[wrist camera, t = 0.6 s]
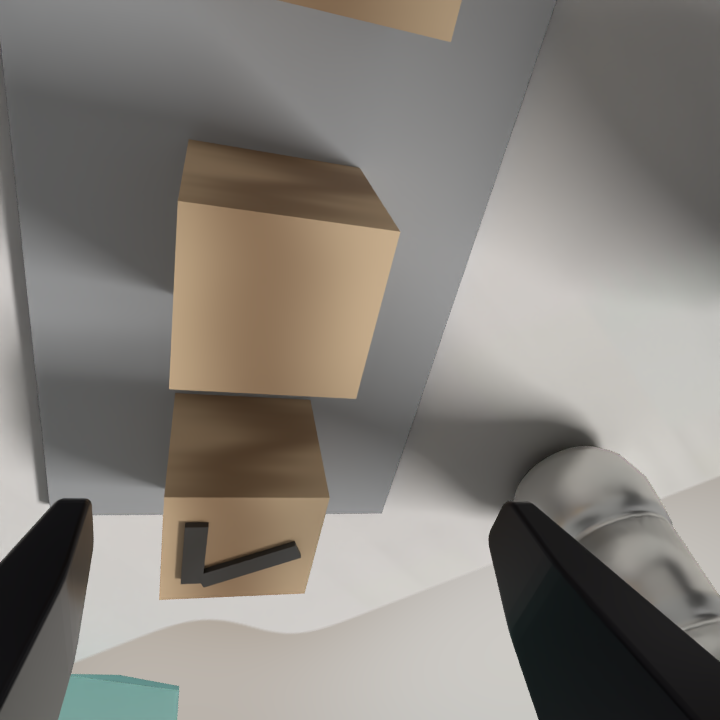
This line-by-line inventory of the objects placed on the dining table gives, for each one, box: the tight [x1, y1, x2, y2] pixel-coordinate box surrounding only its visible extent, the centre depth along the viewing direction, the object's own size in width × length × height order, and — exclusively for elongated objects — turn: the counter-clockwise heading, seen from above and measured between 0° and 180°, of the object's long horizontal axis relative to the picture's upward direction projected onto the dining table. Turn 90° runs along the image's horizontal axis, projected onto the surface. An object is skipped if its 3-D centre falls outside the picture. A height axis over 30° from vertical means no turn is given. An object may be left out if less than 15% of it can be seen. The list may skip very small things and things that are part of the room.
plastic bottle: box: [514, 446, 720, 661], centre depth 21 cm, size 6×7×20 cm
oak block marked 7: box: [159, 393, 330, 600], centre depth 21 cm, size 5×5×5 cm
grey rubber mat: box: [0, 0, 557, 515], centre depth 18 cm, size 14×26×1 cm, turn 167°
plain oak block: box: [169, 139, 400, 399], centre depth 16 cm, size 5×5×5 cm
